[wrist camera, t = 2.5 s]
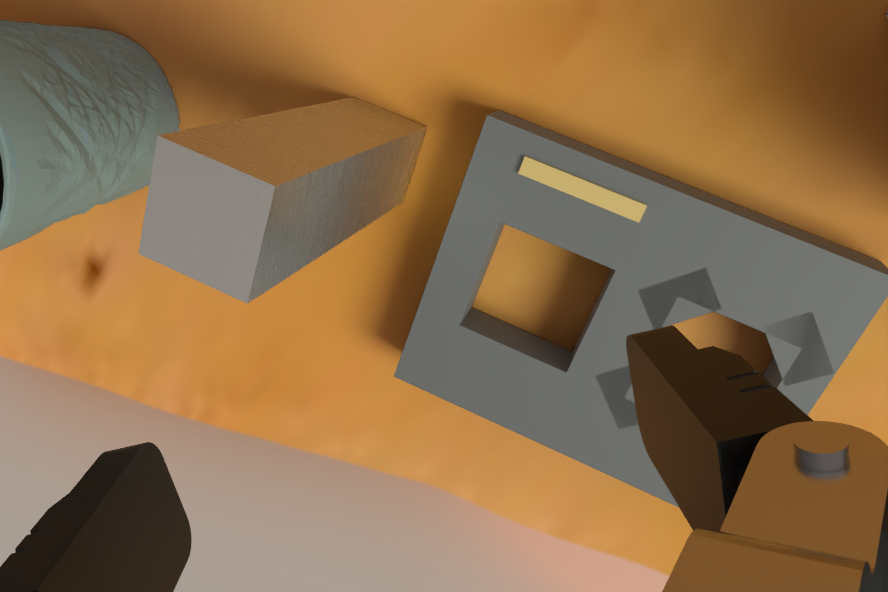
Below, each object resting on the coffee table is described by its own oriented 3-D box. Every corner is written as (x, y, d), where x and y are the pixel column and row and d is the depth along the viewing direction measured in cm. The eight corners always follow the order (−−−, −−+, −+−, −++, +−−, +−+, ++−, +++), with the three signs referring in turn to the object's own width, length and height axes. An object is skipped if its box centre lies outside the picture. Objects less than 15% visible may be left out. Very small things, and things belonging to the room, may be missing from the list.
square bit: (332, 172, 36) (138, 253, 23) (353, 96, 35) (157, 135, 21) (402, 202, 36) (247, 303, 22) (427, 126, 34) (275, 186, 20)
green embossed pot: (184, 21, 36) (-22, 13, 25) (202, 216, 39) (28, 284, 28) (21, 15, 38) (-232, 6, 27) (51, 199, 42) (-161, 256, 31)
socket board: (409, 356, 39) (392, 378, 36) (498, 109, 33) (486, 115, 30) (725, 499, 36) (730, 533, 34) (880, 261, 30) (900, 280, 28)
